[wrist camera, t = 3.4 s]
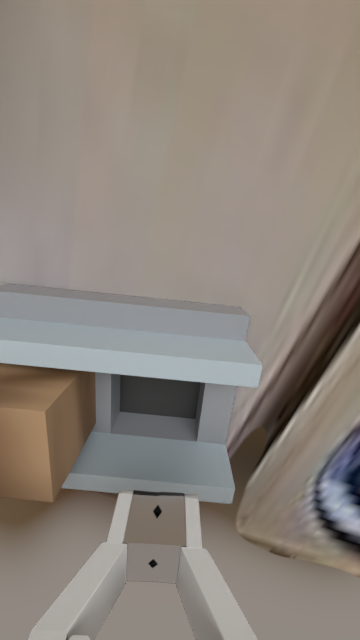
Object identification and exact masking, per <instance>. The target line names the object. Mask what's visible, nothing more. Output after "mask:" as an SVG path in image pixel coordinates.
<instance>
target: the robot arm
mask: <svg viewBox="0 0 360 640" xmlns="http://www.w3.org/2000/svg"><path fill="white" fill-rule="evenodd" d="M151 580H152V581H151ZM126 581H142V582H143V581H144V582H146V581H147V582H160V583H171V584H176V586H177V589H178V592H179V595H180V598H181V601H182V603H183V606H184V609H185V611H186V614H187V617H188V620H189V623H190V626H191V628H192V631H193V634H194V637H195V639H196V640H258V639H257V637H256V636H255V634H254V632H253V630H252V629H251V627H250V625H249V623H248V621H247V620H246V618H245V616H244V614H243V612H242V611H241V609H240V607H239V605H238V604H237V602H236V600H235V598H234V596H233V594H232V593H231V591H230V589H229V588H228V586H227V584H226V582H225V580H224V578H223V577H222V575H221V573H220V571H219V570H218V568H217V566H216V564H215V562H214V561H213V559H212V557H211V555H210V553H209V552H208V550H207V549H205V548H203V547H202V535H201V523H200V510H199V498H198V495H197V494H184V493H175V492H151V491H139V490H128V489H121V490H120V492H119V494H118V498H117V503H116V506H115V510H114V514H113V518H112V521H111V525H110V529H109V533H108V537H107V541H106V542H102V543H101V544H100V545H99V546H98V548H97V549H96V550H95V551H94V553H93V554H92V555H91V556H90V558H89V559H88V560H87V561H86V563H85V564H84V565H83V566H82V568H81V569H80V570H79V571H78V573H77V574H76V575H75V577H74V578H73V579H72V580H71V581H70V583H69V584H68V585H67V586H66V588H65V589H64V590H63V592H62V593H61V594H60V595H59V596H58V598H57V599H56V600H55V601H54V603H53V604H52V605H51V606H50V608H49V609H48V610H47V611H46V613H45V614H44V615H43V616H42V618H41V619H40V620H39V621H38V623H37V624H36V625H35V626H34V628H33V629H32V630H31V633H30V635H29V638H28V640H94V639H95V638H96V636H97V634H98V632H99V630H100V629H101V627H102V625H103V623H104V621H105V620H106V618H107V616H108V614H109V613H110V611H111V609H112V607H113V606H114V604H115V602H116V600H117V598H118V597H119V595H120V593H121V591H122V589H123V588H124V586H125V584H126Z"/></svg>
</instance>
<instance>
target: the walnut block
mask: <svg viewBox="0 0 360 640" xmlns="http://www.w3.org/2000/svg"><path fill="white" fill-rule="evenodd" d="M95 424H96V389H95V372H90V371H79V370H69V369H59V368H48V367H38V366H28V365H17V364H7V363H0V497H1V498H11V499H22V500H32V501H43V502H54V500H55V498H56V496H57V495H58V493H59V490H60V489H61V487H62V485H63V484H64V482H65V480H66V478H67V476H68V474H69V472H70V471H71V469H72V467H73V465H74V463H75V461H76V459H77V458H78V456H79V454H80V452H81V450H82V448H83V446H84V444H85V443H86V441H87V439H88V437H89V435H90V433H91V431H92V430H93V428H94V426H95Z"/></svg>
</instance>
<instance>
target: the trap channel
mask: <svg viewBox="0 0 360 640" xmlns="http://www.w3.org/2000/svg"><path fill="white" fill-rule="evenodd" d="M249 321H250V315H249V314H247V313H246V312H245V311H244V310H243V309H242V308H241V307H236V306H226V305H216V304H207V303H197V302H187V301H177V300H167V299H157V298H147V297H137V296H127V295H117V294H107V293H97V292H87V291H76V290H66V289H56V288H46V287H36V286H26V285H16V284H5V283H0V363H7V364H17V365H28V366H38V367H48V368H59V369H69V370H79V371H90V372H95V389H96V424H95V426H94V428H93V430H92V431H91V433H90V435H89V437H88V439H87V441H86V443H85V444H84V446H83V448H82V450H81V452H80V454H79V456H78V458H77V459H76V461H75V463H74V465H73V467H72V469H71V471H70V472H69V474H68V476H67V478H66V480H65V482H64V484H63V485H62V487H61V488H67V489H78V490H88V491H99V492H109V493H119V492H120V490H121V489H128V490H139V491H151V492H175V493H184V494H197V495H198V498H199V501H205V502H216V503H226V504H232V500H233V496H234V492H235V485H234V481H233V476H232V471H231V467H230V462H229V458H228V453H227V448H226V440H227V435H228V430H229V424H230V419H231V414H232V409H233V404H234V398H235V393H236V388H237V386H244V387H255V388H258V385H259V380H260V376H261V371H262V367H263V365H262V363H261V362H260V361H259V359H258V358H257V356H256V355H255V354H254V352H253V351H252V349H251V348H250V347H249V345H248V344H247V343H246V336H247V331H248V326H249Z"/></svg>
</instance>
